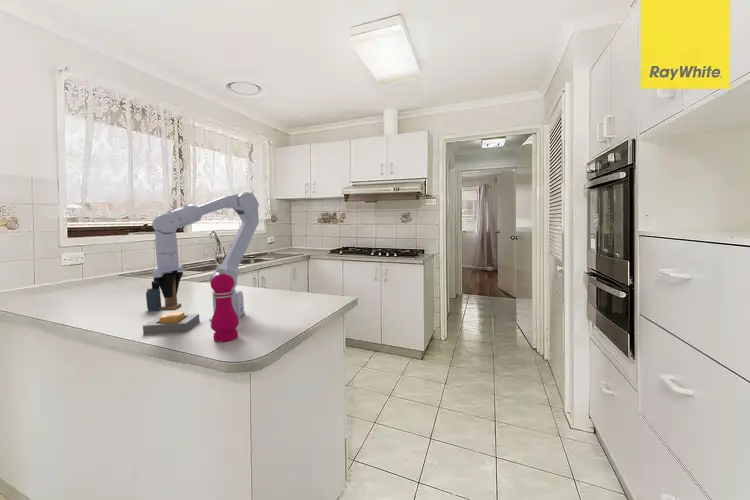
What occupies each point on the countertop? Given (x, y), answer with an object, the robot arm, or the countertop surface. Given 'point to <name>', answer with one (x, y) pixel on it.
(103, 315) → the countertop surface
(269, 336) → the countertop surface
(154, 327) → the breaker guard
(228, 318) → the pepper mill
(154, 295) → the vaping device
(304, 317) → the countertop surface
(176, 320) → the button
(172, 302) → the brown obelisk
